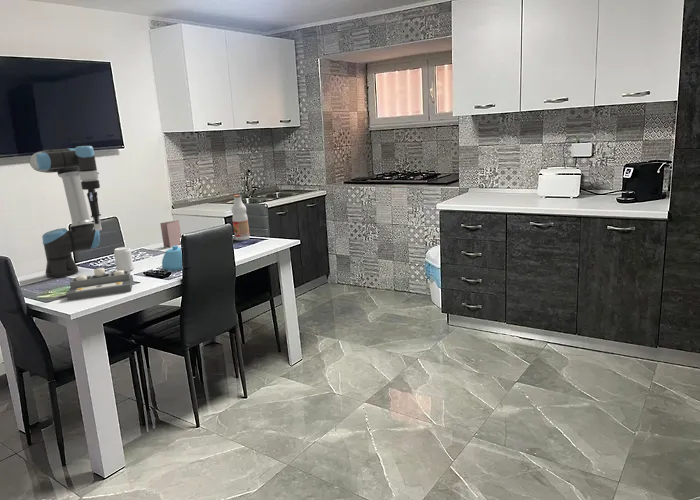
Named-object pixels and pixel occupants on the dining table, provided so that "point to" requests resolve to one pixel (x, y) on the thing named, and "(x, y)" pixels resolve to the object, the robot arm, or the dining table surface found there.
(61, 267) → the robot arm
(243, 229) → the fruit juice
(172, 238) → the pink rectangular block
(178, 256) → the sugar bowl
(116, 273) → the button
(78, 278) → the button
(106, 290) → the button panel
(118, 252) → the beverage can
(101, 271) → the middle button
